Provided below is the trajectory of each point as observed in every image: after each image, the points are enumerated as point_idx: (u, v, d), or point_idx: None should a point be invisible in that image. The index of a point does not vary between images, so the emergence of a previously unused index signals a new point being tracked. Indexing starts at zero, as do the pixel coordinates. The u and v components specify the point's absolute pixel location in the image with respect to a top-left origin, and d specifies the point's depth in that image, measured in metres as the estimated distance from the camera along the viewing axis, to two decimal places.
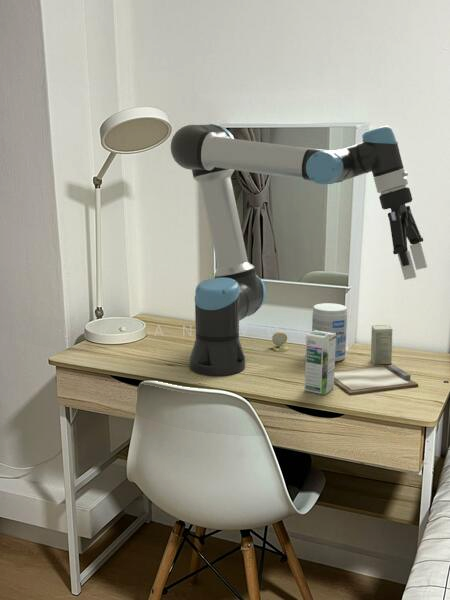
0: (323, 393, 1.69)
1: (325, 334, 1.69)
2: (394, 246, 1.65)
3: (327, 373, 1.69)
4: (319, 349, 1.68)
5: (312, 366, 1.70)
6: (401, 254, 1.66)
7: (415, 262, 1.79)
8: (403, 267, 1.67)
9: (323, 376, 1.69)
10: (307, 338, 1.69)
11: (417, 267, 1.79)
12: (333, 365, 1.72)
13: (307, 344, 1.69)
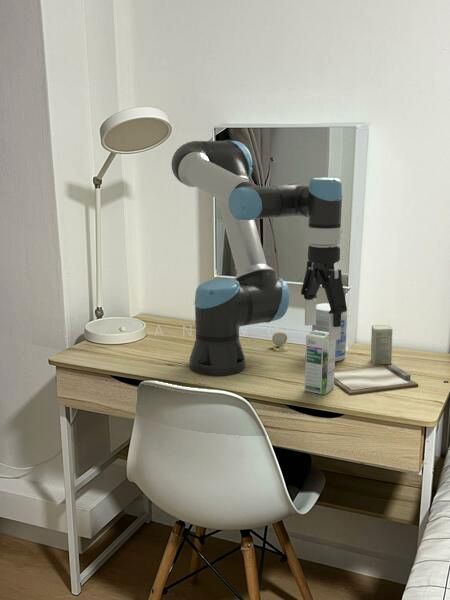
0: (323, 393, 1.69)
1: (325, 334, 1.69)
2: (337, 306, 1.58)
3: (327, 373, 1.69)
4: (319, 349, 1.68)
5: (312, 366, 1.70)
6: (337, 315, 1.60)
7: (307, 318, 1.75)
8: (332, 327, 1.62)
9: (323, 376, 1.69)
10: (307, 338, 1.69)
11: (307, 323, 1.75)
12: (333, 365, 1.72)
13: (307, 344, 1.69)
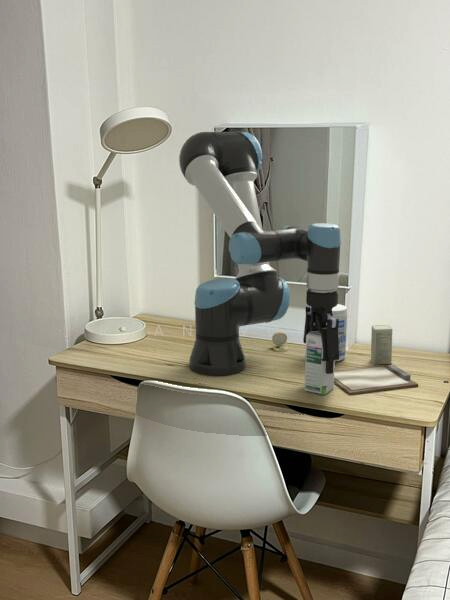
0: (323, 393, 1.69)
1: None
2: (330, 355, 1.63)
3: None
4: (319, 349, 1.68)
5: (312, 366, 1.70)
6: (330, 362, 1.66)
7: None
8: (325, 374, 1.67)
9: None
10: (307, 338, 1.69)
11: None
12: None
13: (307, 344, 1.69)
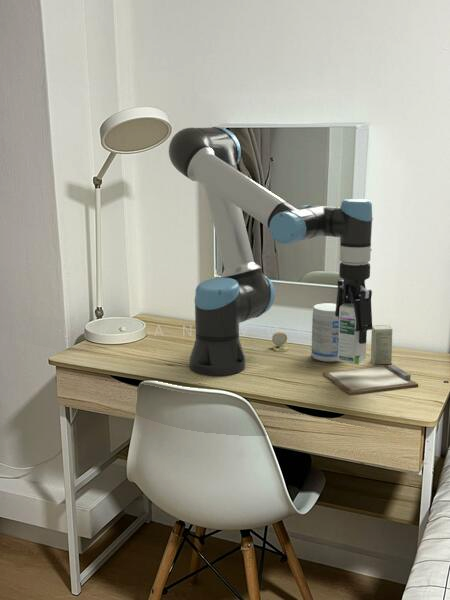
0: (356, 363, 1.76)
1: None
2: (364, 325, 1.70)
3: None
4: (352, 320, 1.74)
5: (345, 337, 1.76)
6: (363, 332, 1.72)
7: None
8: (358, 344, 1.74)
9: None
10: (340, 310, 1.76)
11: None
12: None
13: (340, 315, 1.76)
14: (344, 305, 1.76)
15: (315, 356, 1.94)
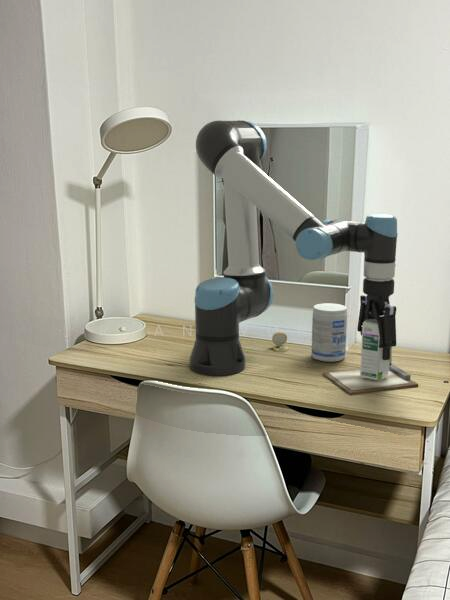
0: (379, 379, 1.74)
1: None
2: (388, 342, 1.68)
3: None
4: (376, 336, 1.73)
5: (368, 353, 1.75)
6: (387, 349, 1.71)
7: None
8: (381, 360, 1.72)
9: None
10: (363, 326, 1.74)
11: None
12: None
13: (363, 331, 1.74)
14: (367, 321, 1.75)
15: (315, 356, 1.94)
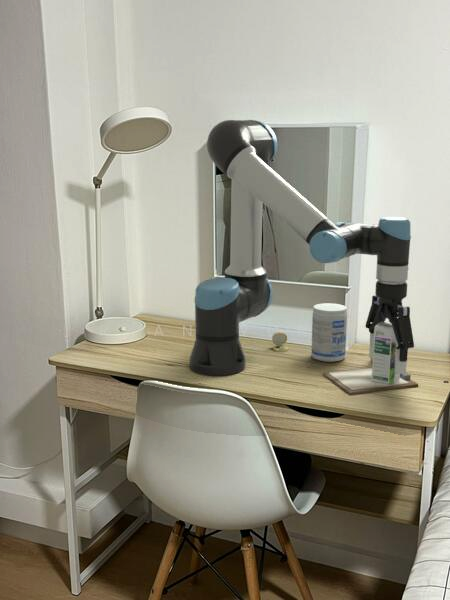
0: (391, 383, 1.74)
1: None
2: (405, 343, 1.65)
3: None
4: (388, 340, 1.72)
5: (380, 357, 1.74)
6: (404, 350, 1.68)
7: (372, 351, 1.81)
8: (398, 362, 1.69)
9: (391, 367, 1.73)
10: (375, 329, 1.73)
11: (372, 356, 1.81)
12: None
13: (375, 335, 1.73)
14: (379, 324, 1.74)
15: (315, 356, 1.94)
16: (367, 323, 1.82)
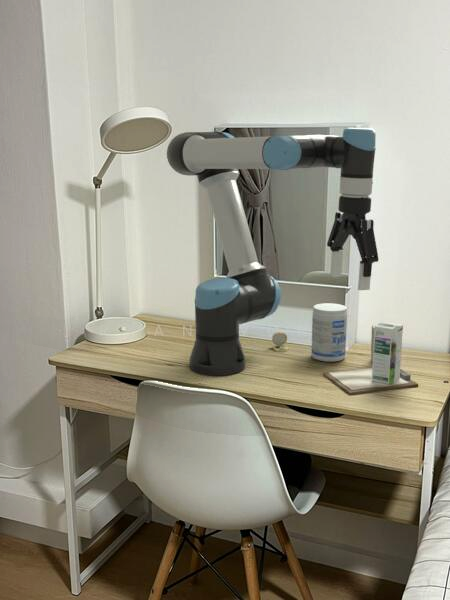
0: (391, 383, 1.74)
1: (393, 325, 1.73)
2: (369, 256, 1.59)
3: (395, 363, 1.73)
4: (388, 340, 1.72)
5: (380, 357, 1.74)
6: (368, 265, 1.61)
7: (333, 269, 1.75)
8: (362, 277, 1.63)
9: (391, 367, 1.73)
10: (375, 329, 1.73)
11: (333, 275, 1.76)
12: (400, 356, 1.76)
13: (375, 335, 1.73)
14: (379, 324, 1.74)
15: (315, 356, 1.94)
16: (329, 241, 1.76)
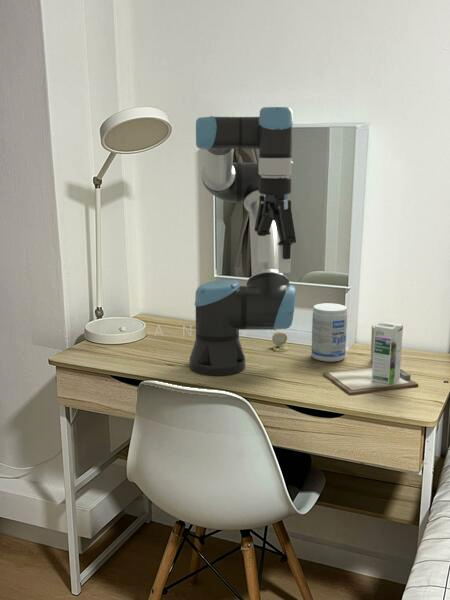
0: (391, 383, 1.74)
1: (393, 325, 1.73)
2: (286, 237, 1.55)
3: (395, 363, 1.73)
4: (388, 340, 1.72)
5: (380, 357, 1.74)
6: (286, 246, 1.57)
7: (260, 254, 1.71)
8: (281, 260, 1.59)
9: (391, 367, 1.73)
10: (375, 329, 1.73)
11: (260, 260, 1.72)
12: (400, 356, 1.76)
13: (375, 335, 1.73)
14: (379, 324, 1.74)
15: (315, 356, 1.94)
16: (256, 226, 1.72)
